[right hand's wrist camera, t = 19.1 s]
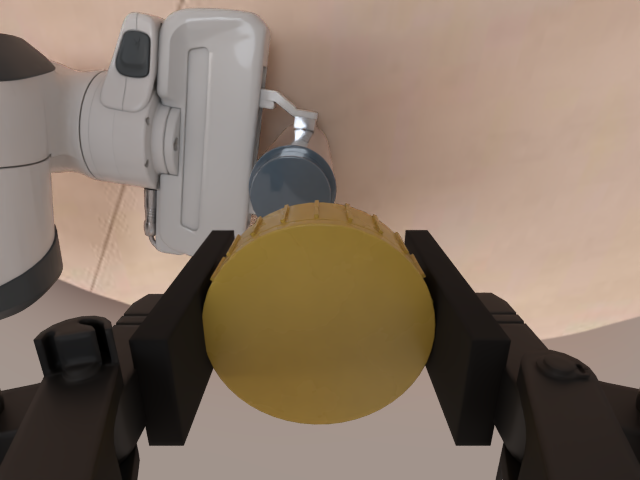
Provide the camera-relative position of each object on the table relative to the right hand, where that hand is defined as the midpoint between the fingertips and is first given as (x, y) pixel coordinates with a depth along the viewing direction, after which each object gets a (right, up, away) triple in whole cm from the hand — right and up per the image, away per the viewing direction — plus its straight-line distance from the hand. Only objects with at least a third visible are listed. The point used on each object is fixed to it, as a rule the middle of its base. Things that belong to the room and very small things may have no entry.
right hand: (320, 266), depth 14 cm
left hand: (-1, +8, +20) cm, 21 cm away
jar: (-2, +10, +26) cm, 28 cm away
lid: (0, -1, -4) cm, 4 cm away
